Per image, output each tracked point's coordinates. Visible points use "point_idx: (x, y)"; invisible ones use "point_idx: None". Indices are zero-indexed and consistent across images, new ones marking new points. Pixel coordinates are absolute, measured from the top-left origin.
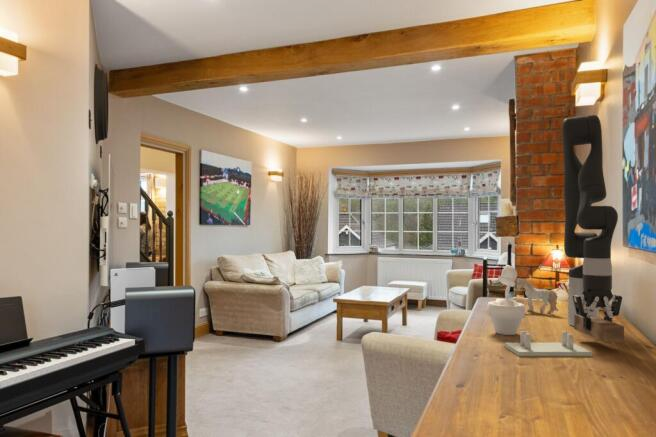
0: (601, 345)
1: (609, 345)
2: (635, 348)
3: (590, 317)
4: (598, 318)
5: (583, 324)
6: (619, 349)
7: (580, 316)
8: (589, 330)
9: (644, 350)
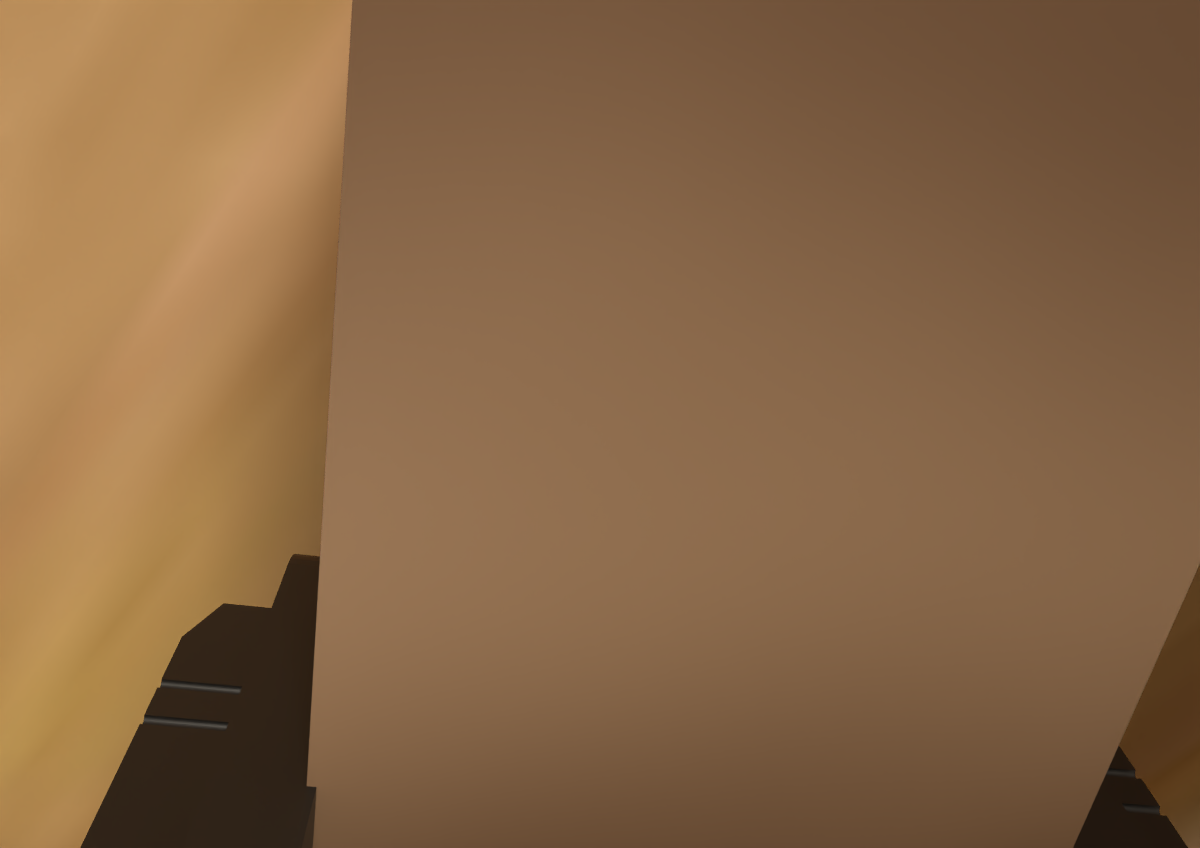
0: None
1: None
2: (1178, 699)
3: (789, 495)
4: (967, 730)
5: (166, 689)
6: None
7: (428, 171)
8: None
9: (1192, 814)
